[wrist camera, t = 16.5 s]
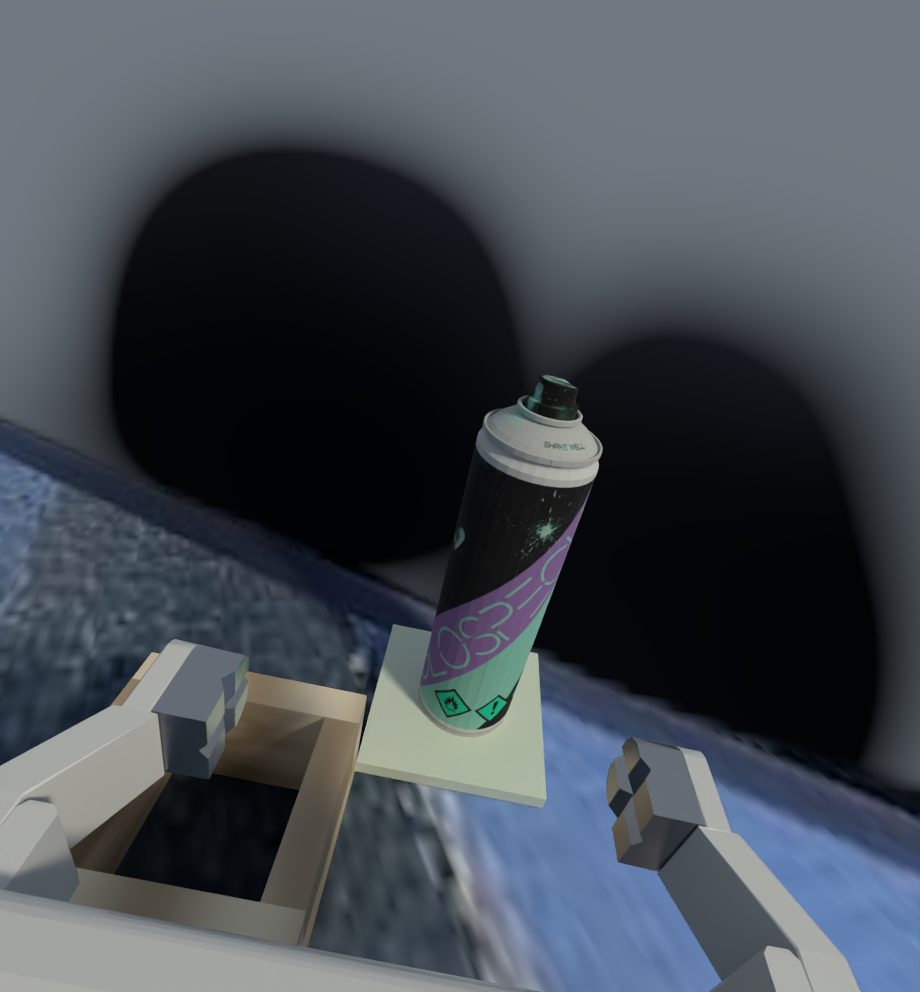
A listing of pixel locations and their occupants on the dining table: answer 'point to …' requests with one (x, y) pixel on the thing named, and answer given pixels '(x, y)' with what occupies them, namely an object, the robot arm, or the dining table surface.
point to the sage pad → (441, 755)
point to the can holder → (260, 758)
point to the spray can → (507, 554)
